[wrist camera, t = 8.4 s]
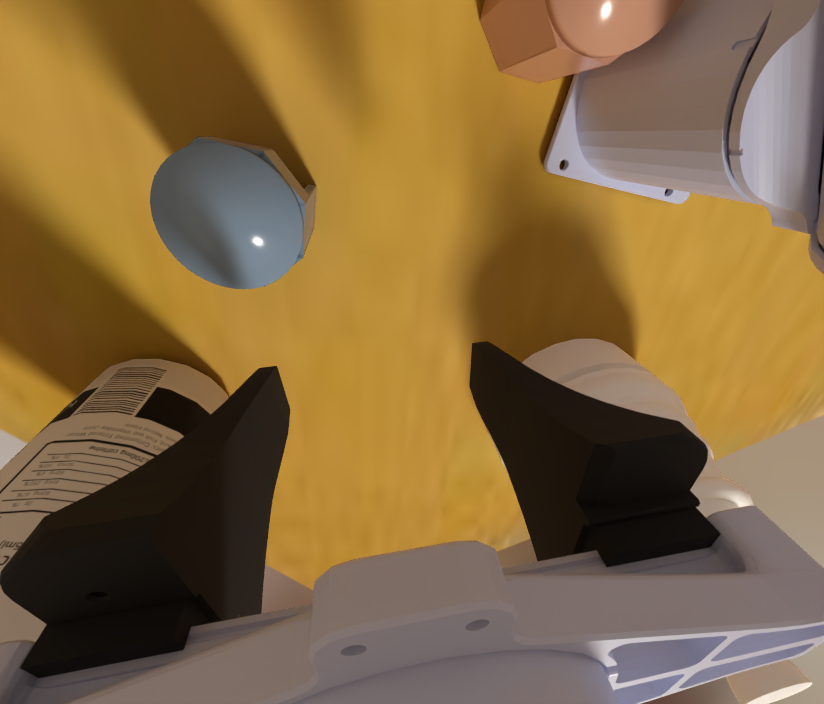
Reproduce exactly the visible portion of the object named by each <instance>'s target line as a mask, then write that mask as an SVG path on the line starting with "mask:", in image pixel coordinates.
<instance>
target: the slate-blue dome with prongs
mask: <svg viewBox="0 0 824 704" xmlns="http://www.w3.org/2000/svg"><path fill="white" fill-rule="evenodd" d="M316 187H317V186H315V185H310V184H308V185H307V186H306V188H305V189H303V187H302V186H301V185H300V184H299V182H298V181H297V180H296V178H295V177H294V176H293V175H292V173H291V172H290V171H289V169H288V168H287V167H286V165H285V164H284V163H283V162H282V160H281V159H280V158H279V156H278V155H277V154H276V153H275V151H274V150H273V149H269V148H264V147H260V146H255V145H250V144H246V143H241V142H237V141H232V140H227V139H223V138H218V137H197V138H196V139H195V140H193V141H192V142H191V143H190V144H189V145H188V146H187V147H184V148H182V149H180V150H178V151H176V152H175V153H173V154H172V155H171V156H169V157H168V158H167V159H166V160H165V161H164V162H163V163H162V165H161V166H160V168H159V169H158V171H157V172H156V175H154V180H153V183H152V187H151V195H150V204H151V212H152V217H153V221H154V223H155V226H156V229H157V231H158V233H159V235H160V237H161V239H162V241H163V242H164V244H165V245H166V247H167V248H168V250H169V251H170V252H171V253H172V254H173V256H174V257H175V258H176V259H177V260H178V261H179V262H180V263H181V264H182V265H184V266H185V267H186V268H187V269H189V270H190V271H191V272H193V273H194V274H196V275H197V276H199V277H201V278H203V279H205V280H207V281H209V282H212V283H214V284H217V285H220V286H224V287H229V288H234V289H252V288H258V287H262V286H264V287H265V286H266V285H268V284H270V283H273V282H275V281H276V280H278V279H279V278H281V277H282V276H283V275H284V274H286V273H287V272H288V270H289V269H290V268H291V267H292V266H293V265H294V264H295V263H297V262H298V261H299V260H300V259H302V258H303V256H304V254H305V251H306V248H307V246H308V243H309V240H310V238H311V235H312V232H313V230H314V220H315V203H316Z"/></svg>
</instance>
